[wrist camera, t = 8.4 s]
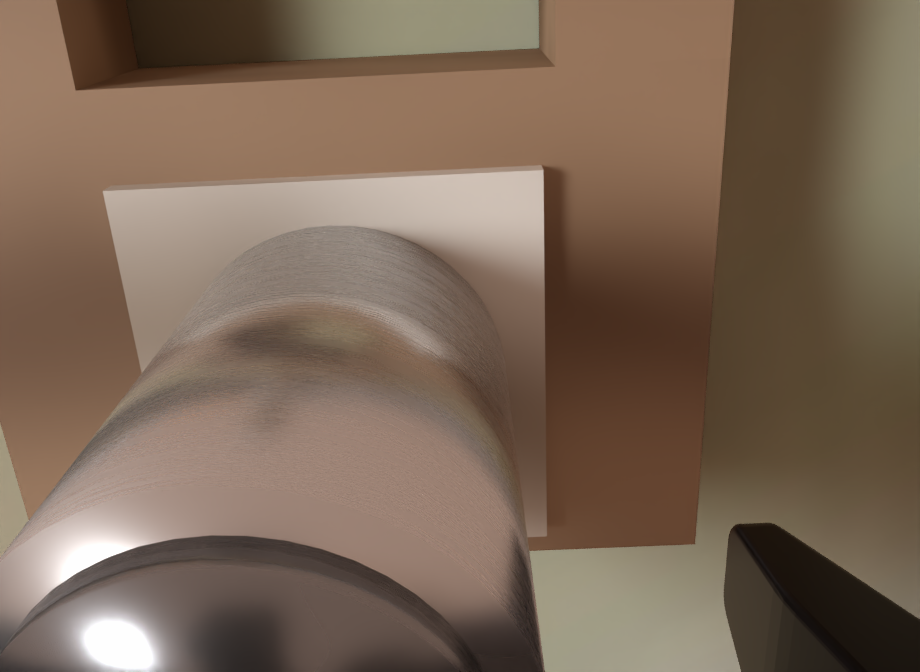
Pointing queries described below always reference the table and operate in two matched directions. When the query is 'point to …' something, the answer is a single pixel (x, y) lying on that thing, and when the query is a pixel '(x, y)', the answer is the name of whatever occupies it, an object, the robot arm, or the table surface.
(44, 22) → the block
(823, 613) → the robot arm
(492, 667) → the plug
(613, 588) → the table surface
